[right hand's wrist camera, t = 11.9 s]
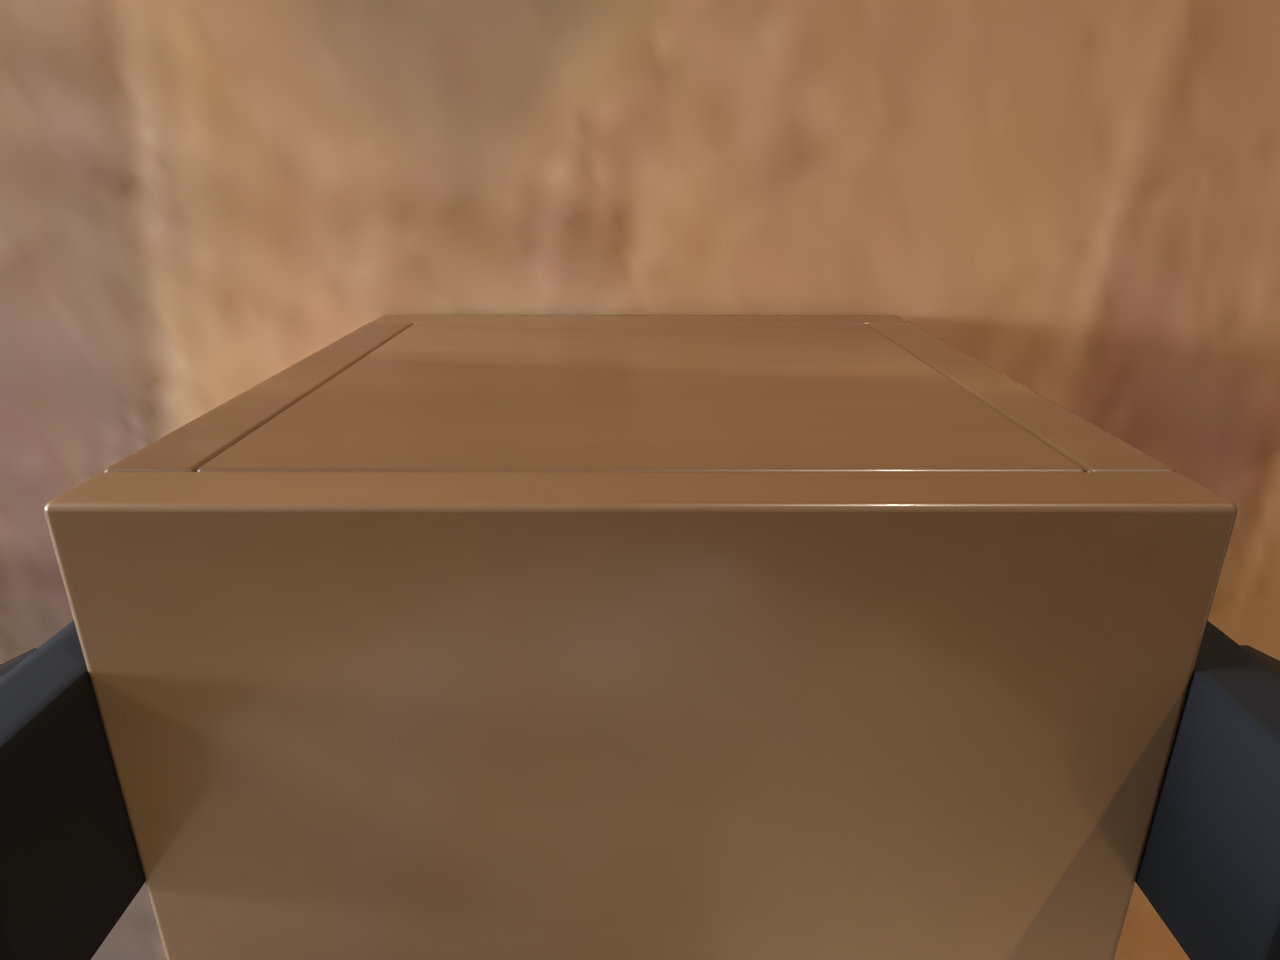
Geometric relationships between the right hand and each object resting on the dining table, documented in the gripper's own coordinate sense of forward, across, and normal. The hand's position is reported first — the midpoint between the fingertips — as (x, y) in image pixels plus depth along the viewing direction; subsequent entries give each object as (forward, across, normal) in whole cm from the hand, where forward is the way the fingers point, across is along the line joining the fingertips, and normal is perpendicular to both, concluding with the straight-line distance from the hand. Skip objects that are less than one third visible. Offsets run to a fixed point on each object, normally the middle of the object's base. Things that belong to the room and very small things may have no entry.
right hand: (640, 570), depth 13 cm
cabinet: (+6, 0, -7) cm, 9 cm away
